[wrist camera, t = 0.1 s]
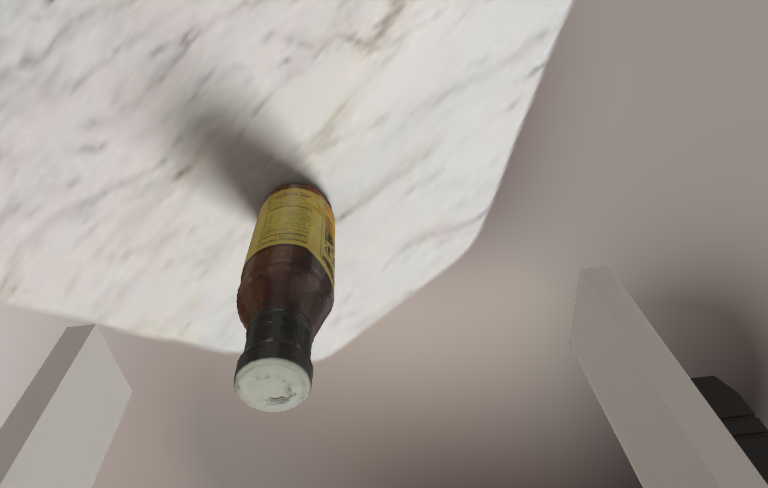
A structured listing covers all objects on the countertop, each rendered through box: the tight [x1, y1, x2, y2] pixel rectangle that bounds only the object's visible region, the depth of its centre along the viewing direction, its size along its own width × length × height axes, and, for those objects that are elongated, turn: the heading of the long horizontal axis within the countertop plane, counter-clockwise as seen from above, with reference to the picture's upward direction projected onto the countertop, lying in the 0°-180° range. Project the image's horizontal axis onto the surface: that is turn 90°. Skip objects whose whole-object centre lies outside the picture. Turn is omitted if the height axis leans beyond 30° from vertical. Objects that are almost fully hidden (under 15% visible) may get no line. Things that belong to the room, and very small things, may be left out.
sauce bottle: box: [234, 184, 335, 412], centre depth 35 cm, size 7×6×20 cm
